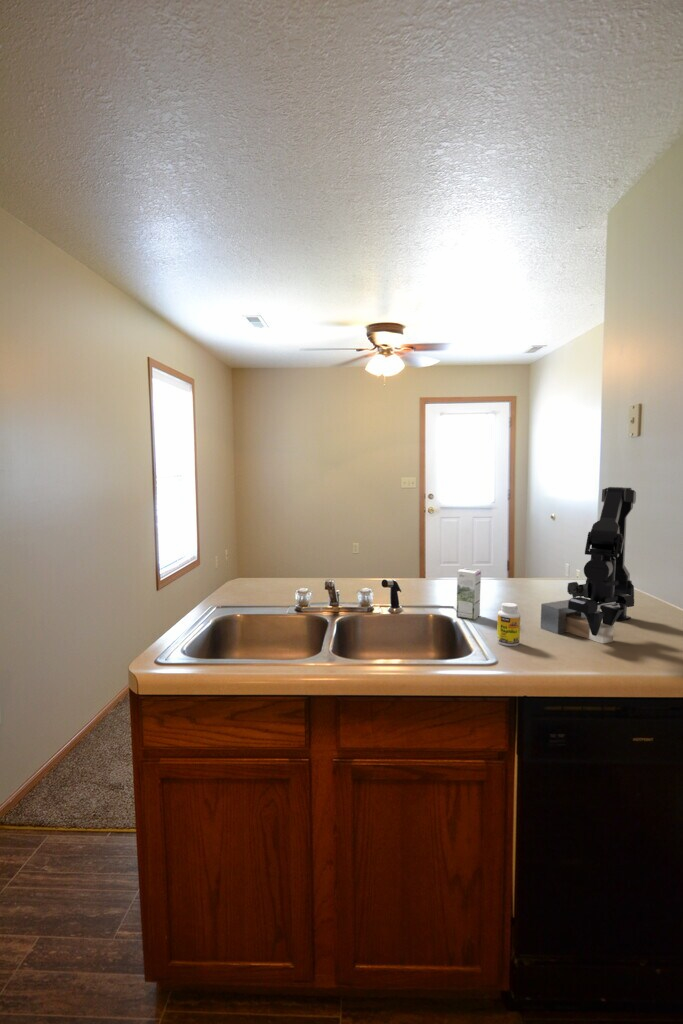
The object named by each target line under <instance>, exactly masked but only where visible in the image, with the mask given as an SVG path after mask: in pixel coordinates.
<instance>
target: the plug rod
mask: <svg viewBox="0 0 683 1024" xmlns="http://www.w3.org/2000/svg"><path fill="white" fill-rule="evenodd" d="M614 630H615V629H614V625H613V626H610V625H607V624H603V622H601V624H600V628H599V631H598V633H597V635H596V636H594V635H592V633H591V630H590V627H589V624H588V621H587V619H586V618H583V617H580V616H576V615H573V614H569V613H566V631H565V633H566V632H567V633H569V634H573V635H576V636H578V637H582V638H585V639H588V640H590V641H594V642H597V643H599V644H601V645H602V644H608V643H612V642H614Z"/></svg>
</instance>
